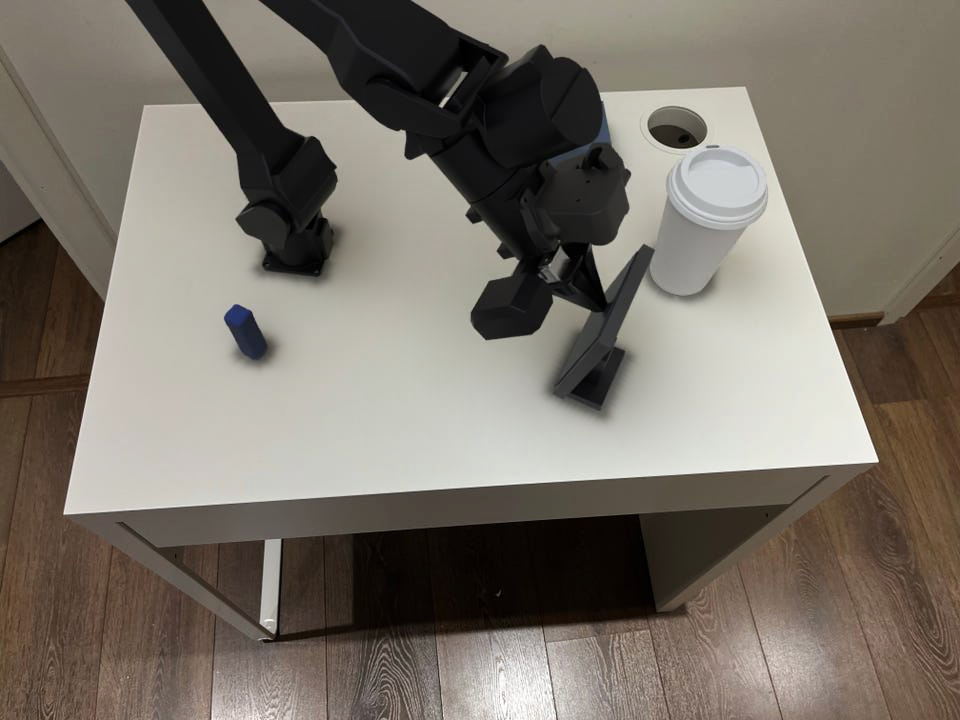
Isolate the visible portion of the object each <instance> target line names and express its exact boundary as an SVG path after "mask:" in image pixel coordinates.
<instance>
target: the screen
mask: <svg viewBox="0 0 960 720" xmlns="http://www.w3.org/2000/svg"><path fill="white" fill-rule="evenodd" d="M654 252H655V250H654V247H653V248H652V247H651V246H649V245H648V244H646V243H642V244H641V246H640V247H639V248H638V250H636V251H635V252H634V254H633V255H632V257H631V258H630V259H629V260H628V261H627V263H626V264H625V266H624V267H623V268H622V270H621V271H619V273H618V274H617V276H616V277H615V278H614V279H613V281H612V282H611V283H610V285H608V287H607V289H605V291H604V294H605V297H606V301H607V305H606V308H605V310H604V311H603V312H599V313H595V312H592V311H590V313H589V315H588V316H587V318H586V320H585V323H584V325H583V327H582V328H581V331H580V333H579V334H580V335H579V334H578V336H579V337H578V336H577V338H578V339H577V338H576V340H577V341H576V340H575V343H576V344H575V343H574V345H575V346H574V345H573V347H574V348H573V347H572V349H573V350H572V349H571V351H572V352H571V351H570V353H571V354H570V353H569V355H570V356H569V355H568V357H569V358H568V357H567V359H568V360H567V359H566V361H567V362H566V361H565V363H566V364H564V365H565V366H563V368H564V369H563V368H562V370H563V371H562V370H561V372H562V373H561V372H560V374H561V375H560V374H559V376H560V377H559V376H558V378H559V379H558V378H557V380H558V381H557V380H556V382H557V383H556V382H555V384H556V387H555V389H554V388H553V391H552V395H553V396H555V397H556V398H558V399H560V400H562V401H563V400H565V399H566V398H567V395H568V394H569V393H570V392H571V391H572V390H573V389H574V388H575V386H576V385H577V384H578V383H579V382H580V381H581V380H582V379H583V378H584V377H585V376H586V375H587V374H588V373H589V372H590V371H591V369H592V368H593V367H594V366H595V365H596V364H597V363H598V362H599V361H600V360H601V359H602V358H603V357H604V356H605V355H606V353H607V352H608V351H609V350H610V349H611V348H612V346H613V344H614V341H615V339H616V337H617V338H618V334H619V332H620V330H621V328H622V326H623V323H624V322H625V319H626V317H627V315H628V312H629V310H630V307H631V306H632V303H633V302H634V299H635V296H636V294H637V292H638V290H639V287H640V286H641V284H642V281H643V279H644V276H645V274H646V272H647V270H648V268H649V266H650V264H651V260H652V257H653V254H654Z"/></svg>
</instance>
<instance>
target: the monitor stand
mask: <svg viewBox="0 0 960 720" xmlns="http://www.w3.org/2000/svg"><path fill="white" fill-rule="evenodd" d="M579 335H580V333H579V334H578V336H577V338H576V340H575V342H574V345H573V347H572V349H571V351H570V353H569V355H568V357H567V359H566V361H565V364H566V362H567V360H568V358H569V356H570V354H571V352H572V350H573V348H574V346H575V344H576V341H577V339H578V337H579ZM617 339H618V336H617V337H616V339H615V341H614V344H613V346H612V348H611V349H610V350H609V351H608V352H607V353H606V355H605V356H604V357H603V358H602V359H601V360H600V361H599V362H598V363H597V364H596V365H595V366H594V367H593V368H592V369H591V371H590V372H589V373H588V374H587V375H586V376H585V377H584V378H583V379H582V380H581V381H580V382H579V383H578V384H577V385H576V386H575V388H574V389H573V390H572V391H571V392H570V393H569V394H568V395H567V396H566V398H570V399H572V400H574V401H575V402H578V403H581V404H583V405H586V406H588V407H590V408H592V409H595V410H597V411H601V409H602V407H603V405H604V403H605V400H606V398H607V396H608V393H609V391H610V389H611V386H612V384H613V382H614V379H615V378H616V375H617V372H618V370H619V368H620V365H621V364H622V361H623V359H624V356H625V354H626V352H627V351H626V350H624V349H622V348H620V347H618V346H616V343H617ZM565 364H564V366H565ZM564 366H563V368H562V370H561V372H560V373H559V376H558V378H557V379H556V382H555V384H554V386H553V390H554V389H555V387H556V383H557V381H558V379H559V377H560V375H561V373H562V371H563V369H564Z"/></svg>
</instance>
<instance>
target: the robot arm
mask: <svg viewBox="0 0 960 720" xmlns="http://www.w3.org/2000/svg"><path fill="white" fill-rule="evenodd" d="M124 2H125V3H126V5H128V7H129V8H130V9H131V11H132V12H133V13H134V15H135V16H136V18H137V19H138V20H139V22H140V23H141V25H142V26H143V27H144V28H145V30H146V31H147V33H148V34H149V36H150V37H151V39H153V41H154V42H155V44H156V45H157V46H158V48H159V49H160V50H161V52H162V53H163V55H164V57H166V59H167V60H168V61H169V63H170V64H171V66H172V67H173V68H174V70H175V71H176V72H177V74H178V75H179V77H180V78H181V80H182V81H183V82H184V83H185V85H186V86H187V88H188V89H189V91H191V93H192V94H193V96H194V98H195V99H196V100H197V101H198V103H199V104H200V105H201V108H203V110H204V111H205V113H206V114H207V115H208V117H209V118H210V119H211V121H212V122H213V123H214V125H215V126H216V127H217V129H218V130H219V131H220V133H221V135H222V136H223V137H224V139H225V140H226V142H228V144H229V145H230V147H231V148H232V149H233V152H234V153H235V155H236V162H237V172H238V180H239V187H240V190H241V191H242V193H243V195H244V196H245V198H246V199H247V201H248V203H247V204H246V205H245V206H244V207H243V209H242V210H241V211H240V212H239V213H238V215H237V216H236V217H235V218H234V220H235V222H236V223H237V225H238V226H239V227H240V228H241V230H242V231H243V232H244V234H245V235H248V236H250V237H252V238H254V239H256V240H259V241H261V243H262V246H263V249H264V252H265V255H264V257H263V260H262V262H261V266H262V268H263V270H265V271H269V272H275V273H276V272H277V273H285V274H292V275H299V276H307V277H315V278H318V277H320V276H321V275H322V274H323V270H324V268H325V264H326V261H328V260H329V258H330V255H331V253H332V249H333V246H334V235H335V232H334V229H333V228H332V227H331V226H330V221H329V219H328V218H327V217H324V215H323V214H324V213H323V211H322V208H323V206H324V205H325V204H326V202H327V201H328V200H329V199H330V197H331V196H332V194H333V193H334V192H335V191H336V189H337V184H338V182H339V178H338V174H337V172H336V169H337V168H338V166H337V164H335V163H334V161H333V160H331V158H330V157H329V156H328V154H327V153H326V151H325V149H324V147H323V145H322V142H321V140H320V139H319V138H317V137H316V136H314V135H309V136H305V135H302V134H301V133H300V132H297V131H294V130H292V129H290V128H288V127H287V126H285V125H284V123H283V122H282V120H280V118H279V116H278V114H277V113H276V112H275V111H274V109H273V107H272V106H271V104H270V103H269V101H268V99H267V98H266V96H265V95H264V93H263V92H262V90H261V89H260V87H259V85H258V83H257V82H256V81H255V79H254V78H253V76H252V74H251V73H250V71H249V70H248V69H247V67H246V65H245V64H244V62H243V60H242V59H241V57H240V56H239V54H238V53H237V51H236V50H235V48H234V46H233V45H232V44H231V42H230V41H229V39H228V37H227V36H226V34H225V32H224V31H223V30H222V28H221V27H220V24H219V23H218V21H217V20H216V18H215V17H214V15H213V14H212V13H211V11H210V9H209V8H208V6H207V5H206V3H205V2H204V0H124ZM258 2H260V3H261V4H262V5H264V6H265V7H266V8H267V9H269V10H270V11H271V12H272V13H274V14H275V15H276V16H278V18H280V19H281V20H283V21H284V22H285V23H287V24H288V25H289V26H290V27H292V28H293V29H295V30H296V31H297V32H298V33H300V34H301V35H302V36H304V37H305V38H306V39H307V40H309V41H310V42H311V43H312V44H313V45H315V46H316V47H317V48H318V49H319V50H320V51H321V52H322V53H323V54H324V55H325V56H326V58H327V60H328V63H329V64H330V67H331V69H332V71H333V73H334V75H335V78H336V80H337V82H338V85H339V86H340V88H341V89H342V90H343V91H344V92H345V93H346V94H347V95H348V96H349V97H351V99H353V100H354V101H355V103H357V104H358V105H359V107H361V108H362V109H363V110H364V112H366V113H367V114H368V115H370V117H371V118H373V119H374V120H375V121H376V122H377V123H379V124H380V125H382V126H383V127H385V128H387V129H388V130H391V131H394V132H400V131H404V132H405V143H404V152H403V155H404V158H405V159H406V160H408V161H412V160H415V159H417V158H419V157H421V156H423V155H427V157H428V158H429V159H430V160H431V162H433V164H434V165H435V166H436V167H437V168H438V170H440V172H441V173H442V174H443V175H444V177H446V179H447V180H448V181H449V183H450V184H451V185H452V186H453V187H454V188H455V189H456V191H457V192H458V193H459V194H460V195H461V196H462V198H463V199H464V200H465V201H466V203H468V205H469V208H468V210H467V211H466V213H465V214H464V216H465V218H466V219H468V221H469V222H470V223H471V224H472V225H475V224H478V223H481V222H483V223H484V224H485V225H486V226H487V227H488V228H489V229H490V231H491V232H492V233H493V234H494V235H495V236H496V237H497V239H498V240H499V241H500V244H499V246H498V247H497V249H496V250H495V252H496V253H497V254H498V255H499V256H500V257H501V260H504V261H505V260H508V259H513V258H515V259H516V260H517V261H518V262H517V264H516V266H515V268H514V269H513V271H512V273H511V275H510V276H505V277H500V278H495V279H490V280H488V282H487V283H486V285H485V287H484V288H483V290H482V292H481V293H480V295H479V297H478V299H477V301H476V302H475V304H474V306H473V307H472V309H471V311H470V314H469V315H470V316H469V317H470V318H469V319H470V320H469V321H470V323H471V326H472V327H473V329H474V330H475V331H476V332H477V333H478V335H480V336H481V337H482V338H483V339H484V340H485V341H493V340H502V339H511V338H518V337H526V336H532V335H533V334H535V333H536V332H537V331H539V330H540V329H541V328H542V325H543V324H544V322H545V320H546V317H547V316H548V314H549V313H550V311H551V308H552V306H553V305H554V297H556V298H559V299H561V300H564V301H567V302H569V303H571V304H572V305H573V304H574V305H576V306H578V307H580V308H583V309H585V310H588V311H590V312H591V311H592V312H595V313H599V312H603V311H604V310H605V308H606V305H607V301H606V297H605V294H604V292H605V291H604V288H603V284H602V280H601V278H600V274H599V271H598V266H597V264H596V260H595V255H594V251H593V246H595V247H603V246H607V245H609V244H611V243H612V242H613V241H615V239H616V238H617V236H618V234H619V229H620V227H621V225H622V223H623V221H624V218H625V217H626V216H627V215H628V214H629V212H630V208H631V207H630V203H629V199H628V195H627V191H626V187H627V185H628V183H629V181H630V179H631V177H632V171H630V169H629V168H626V167H625V163H624V159H623V158H622V157H621V155H619V153H618V151H616V149H614V147H613V145H612V146H611V145H610V144H609V143H608V142H596V143H592V142H593V141H594V140H595V139H596V138H597V137H598V135H599V133H600V130H601V126H602V120H603V109H602V102H601V101H602V97H601V94H600V91H599V87H598V86H597V82H596V81H595V79H594V77H593V76H592V74H591V72H590V71H589V70H588V68H587V67H585V66H584V67H582V65H580V64H579V63H578V62H577V61H575V60H574V59H572V58H570V57H566V56H558V57H553V55H552V54H551V52H550V51H549V49H548V48H547V46H546V44H542V43H540V44H538V45H536V46H535V47H533V48H531V49H529V50H528V51H526V52H525V53H524V54H523V56H521V58H519V59H517V60H516V61H514V62H512V63H510V64H509V65H507V64H508V63H509V62H510V57H509V55H508V54H507V53H505V52H504V51H501V50H499V49H497V48H495V47H493V46H491V45H490V43H487V42H483V41H481V40H479V39H477V38H474V37H472V36H471V35H468V34H466V33H464V32H462V31H459V30H458V29H456V28H453V27H451V26H450V25H449V24H448V23H447V22H446V21H444V20H443V19H442V18H440V17H439V16H437V15H435V14H434V13H432V11H430V10H428V9H426V8H425V7H423V6H422V5H419V4H418V3H417V2H414V0H258ZM462 73H466V74H465V76H464V77H463V79H462V80H461V81H460V82H459V79H460V77H461V75H462ZM457 82H459V84H458V85H457V87H456V88H455V90H454V91H453V92H452V93H451V95H450V96H449V97H448V99H447V100H446V102H445V103H444V105H443V106H441V104H442V103H443V101H444V100H445V98H446V97H447V96H448V94H449V93H450V92H451V91H452V89H453V88H454V86H455V85H456V83H457ZM590 143H592V144H591V146H590V147H589V149H588V151H587V153H584V154H581V155H579V156H576V157H573V158H570V159H568V160H565V161H562V162H560V163H557V165H556V167H555V168H554V167H553V166H552V164H551V163H550V162H549V161H548V160H549V159H551V158H554V157H556V156H559V155H562V154H564V153H567V152H570V151H572V150H575V149H577V148H580V147H583V146H585V145H588V144H590Z"/></svg>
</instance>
